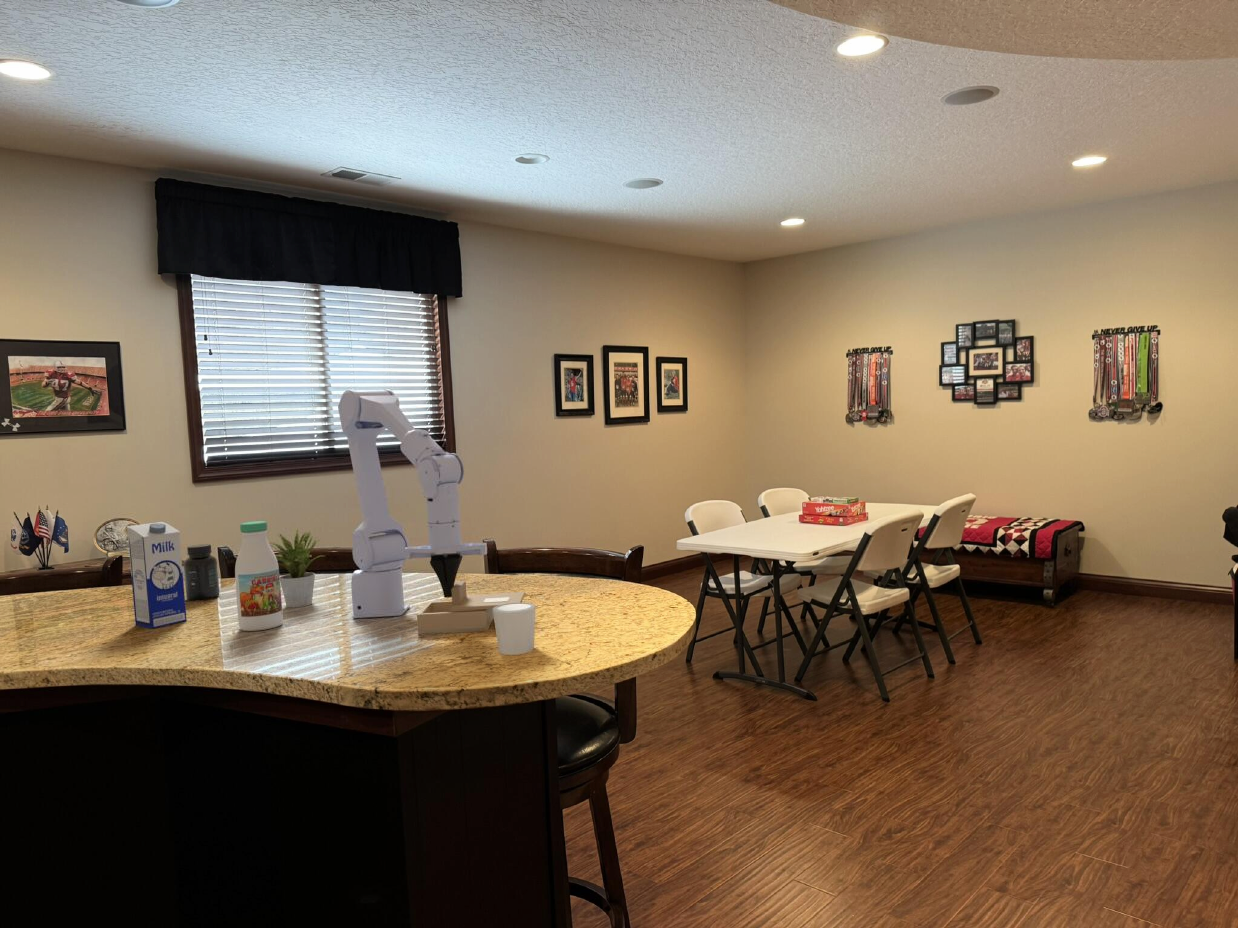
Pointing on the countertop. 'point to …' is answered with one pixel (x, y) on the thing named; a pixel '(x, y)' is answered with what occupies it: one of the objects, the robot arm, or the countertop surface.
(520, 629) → the white cup
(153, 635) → the countertop surface
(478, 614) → the mailer
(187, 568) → the supplement bottle
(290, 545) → the house plant
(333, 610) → the countertop surface
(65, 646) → the countertop surface
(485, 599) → the lid
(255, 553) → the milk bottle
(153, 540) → the milk carton
